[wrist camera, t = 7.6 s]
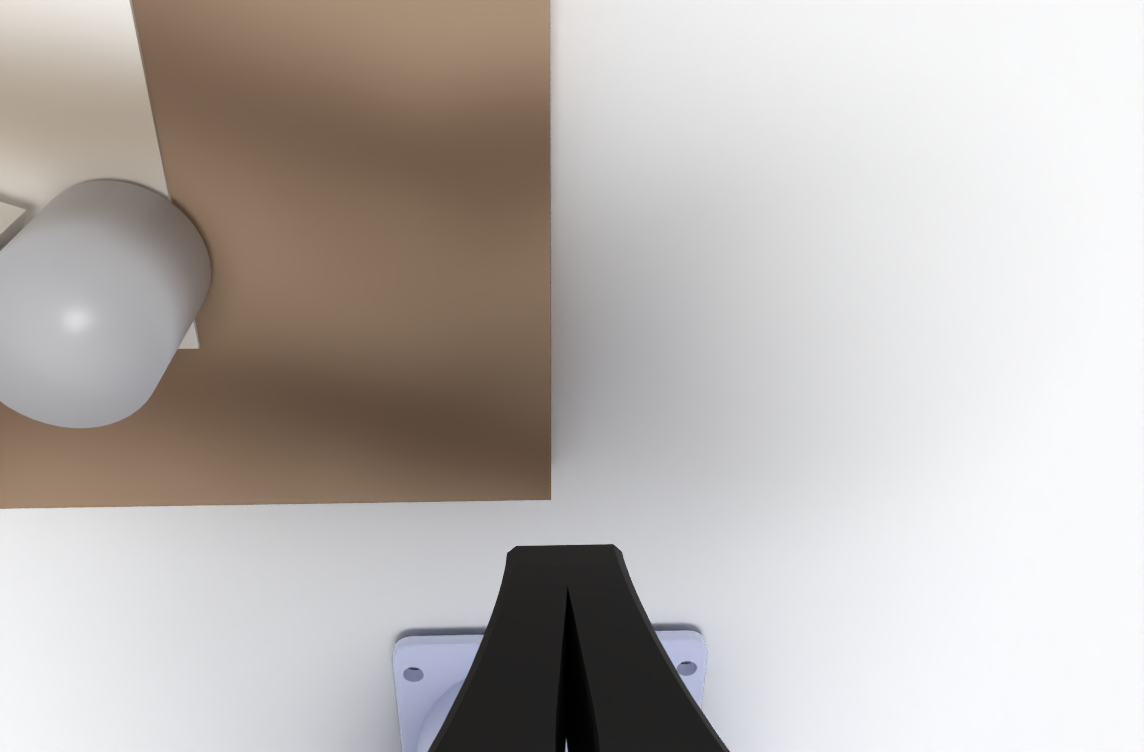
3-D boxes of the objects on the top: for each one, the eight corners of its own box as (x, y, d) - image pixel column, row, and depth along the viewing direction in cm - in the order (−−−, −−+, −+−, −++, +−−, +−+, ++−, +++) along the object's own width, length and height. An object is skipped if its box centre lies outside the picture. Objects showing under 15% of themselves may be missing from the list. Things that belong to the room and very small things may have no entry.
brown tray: (549, 467, 25) (551, 505, 23) (-228, 479, 24) (-267, 518, 23) (547, -550, 15) (549, -574, 14) (-727, -576, 15) (-839, -603, 13)
